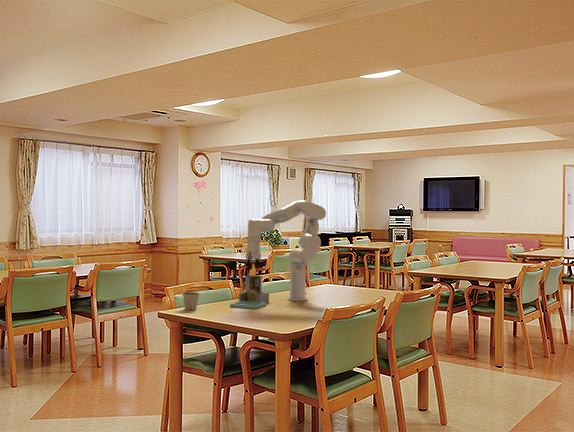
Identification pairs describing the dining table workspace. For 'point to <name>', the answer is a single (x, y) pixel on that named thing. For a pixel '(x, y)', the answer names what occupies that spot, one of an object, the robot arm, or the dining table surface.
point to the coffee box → (253, 288)
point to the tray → (248, 304)
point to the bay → (262, 297)
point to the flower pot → (190, 300)
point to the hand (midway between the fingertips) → (253, 268)
